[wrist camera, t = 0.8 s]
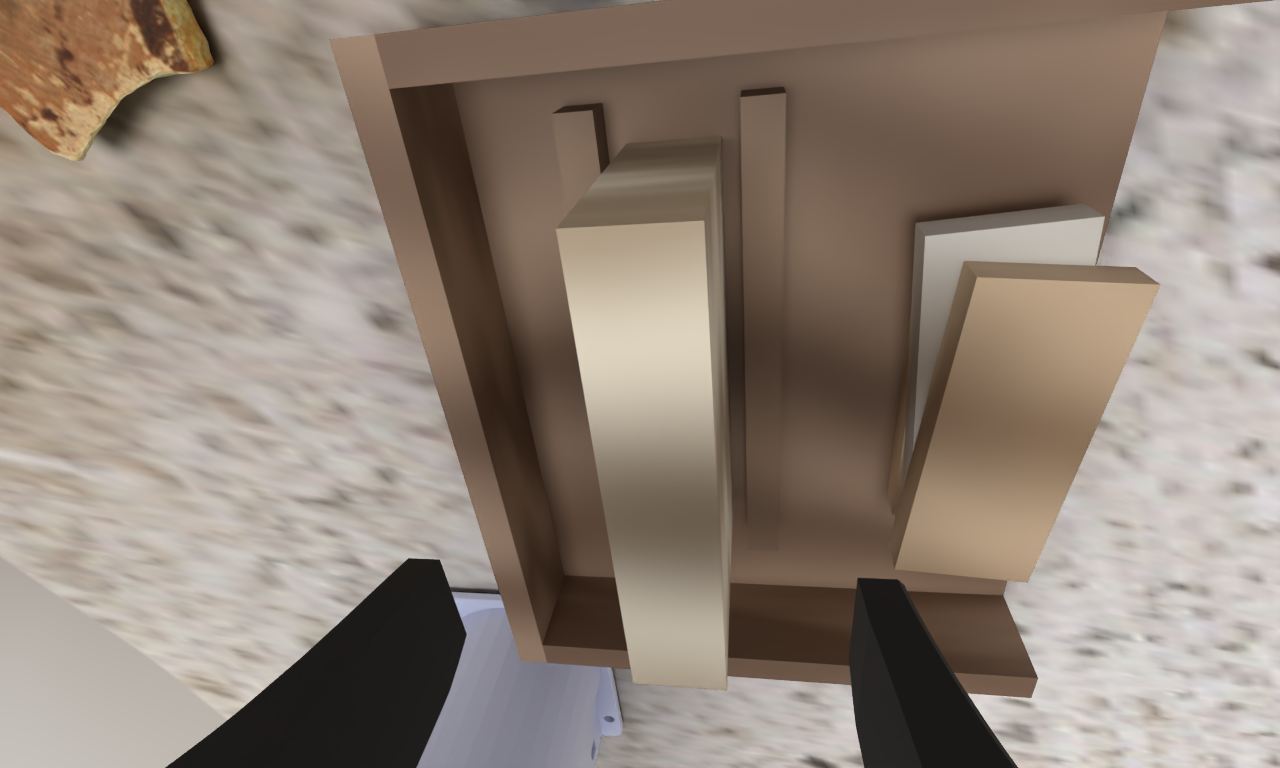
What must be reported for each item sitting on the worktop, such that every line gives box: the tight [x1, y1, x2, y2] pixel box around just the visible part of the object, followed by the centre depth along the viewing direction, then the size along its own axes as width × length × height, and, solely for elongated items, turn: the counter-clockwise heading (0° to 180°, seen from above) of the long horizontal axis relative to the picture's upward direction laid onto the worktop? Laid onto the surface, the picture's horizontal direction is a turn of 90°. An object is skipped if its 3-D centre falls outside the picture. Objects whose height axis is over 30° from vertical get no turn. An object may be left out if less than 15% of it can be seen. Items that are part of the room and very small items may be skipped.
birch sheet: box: [556, 136, 733, 690], centre depth 16 cm, size 12×2×7 cm, turn 6°
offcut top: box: [888, 261, 1160, 583], centre depth 16 cm, size 9×4×1 cm, turn 1°
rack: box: [329, 0, 1272, 698], centre depth 18 cm, size 20×17×4 cm
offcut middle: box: [902, 204, 1105, 491], centre depth 17 cm, size 9×4×1 cm, turn 10°
